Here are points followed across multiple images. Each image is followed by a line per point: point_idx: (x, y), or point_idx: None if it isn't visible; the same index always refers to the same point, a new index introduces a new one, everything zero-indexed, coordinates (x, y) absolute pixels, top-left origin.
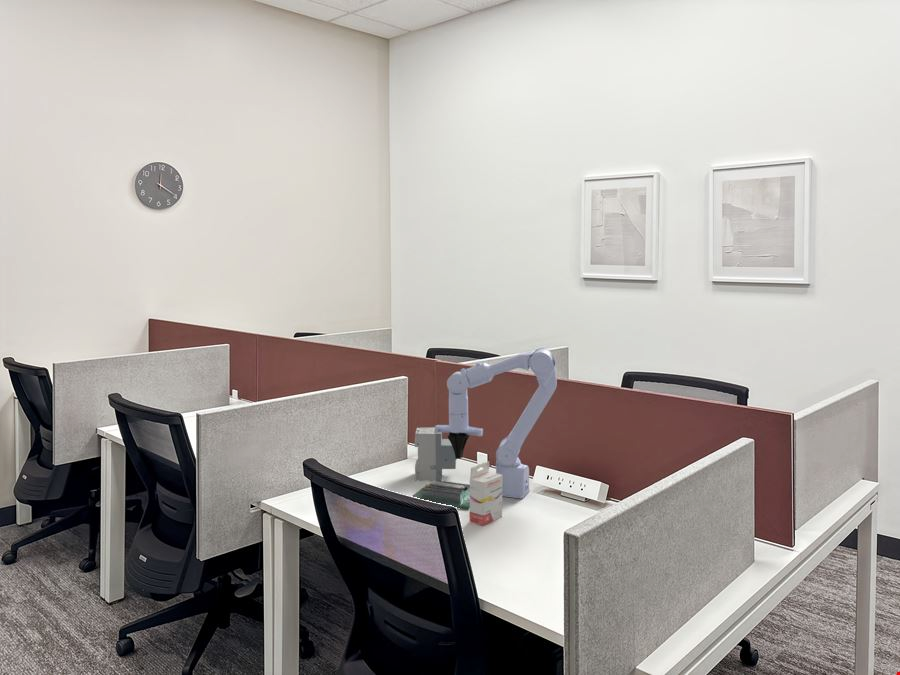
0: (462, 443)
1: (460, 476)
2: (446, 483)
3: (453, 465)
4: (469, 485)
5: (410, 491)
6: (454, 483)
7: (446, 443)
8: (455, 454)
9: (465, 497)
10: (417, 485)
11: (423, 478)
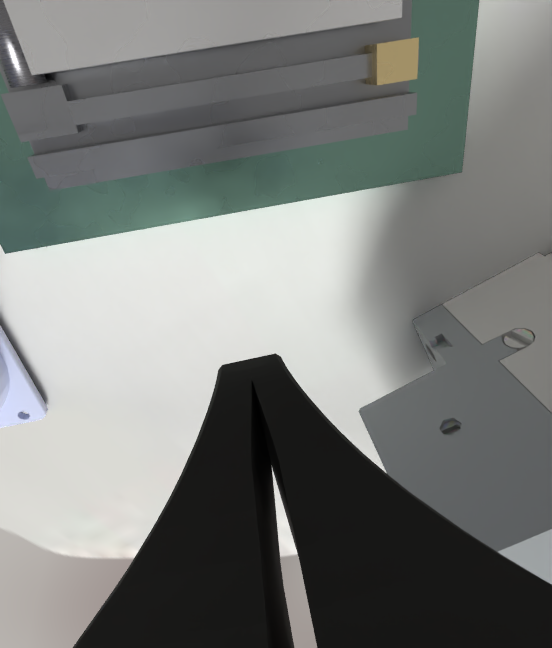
0: (104, 607)
1: (342, 420)
2: (224, 21)
3: (379, 420)
4: (30, 160)
5: (548, 8)
6: (189, 131)
7: (536, 571)
8: (283, 378)
9: None
10: (528, 167)
11: (523, 271)
